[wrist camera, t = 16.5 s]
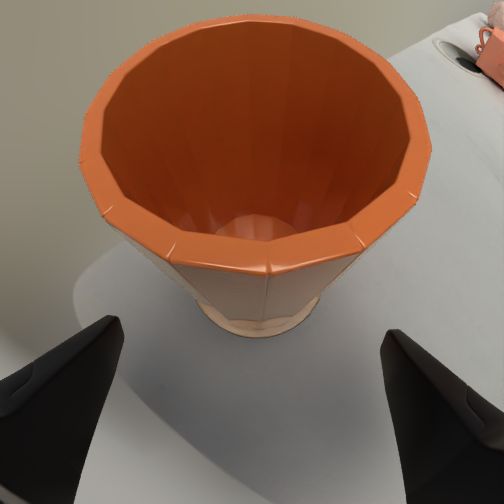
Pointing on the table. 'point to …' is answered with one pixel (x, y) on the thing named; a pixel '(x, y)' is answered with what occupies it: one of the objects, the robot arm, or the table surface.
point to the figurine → (497, 16)
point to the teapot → (492, 54)
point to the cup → (254, 159)
